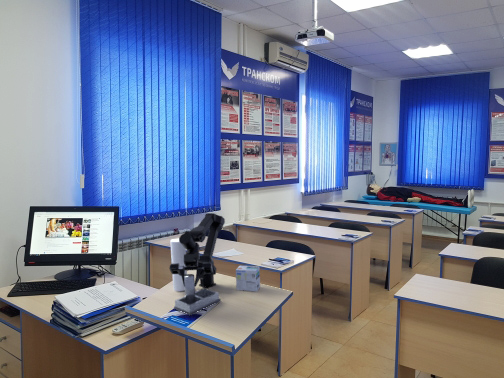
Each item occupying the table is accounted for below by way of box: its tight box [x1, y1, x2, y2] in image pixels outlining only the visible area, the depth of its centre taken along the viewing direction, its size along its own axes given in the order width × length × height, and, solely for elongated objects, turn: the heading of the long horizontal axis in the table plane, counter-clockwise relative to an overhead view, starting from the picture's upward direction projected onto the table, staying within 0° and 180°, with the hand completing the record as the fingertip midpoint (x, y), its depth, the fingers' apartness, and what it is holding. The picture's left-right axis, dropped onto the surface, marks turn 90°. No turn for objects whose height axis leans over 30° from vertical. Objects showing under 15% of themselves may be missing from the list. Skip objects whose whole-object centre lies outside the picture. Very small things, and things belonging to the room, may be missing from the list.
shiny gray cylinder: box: [184, 273, 196, 304], centre depth 164 cm, size 4×4×12 cm
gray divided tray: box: [173, 287, 221, 316], centre depth 168 cm, size 18×11×4 cm, turn 140°
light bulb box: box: [235, 264, 261, 293], centre depth 185 cm, size 11×7×11 cm, turn 74°
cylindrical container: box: [169, 238, 188, 292], centre depth 187 cm, size 7×7×25 cm
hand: (189, 286), depth 164 cm, fingers closed on shiny gray cylinder, 4 cm apart
